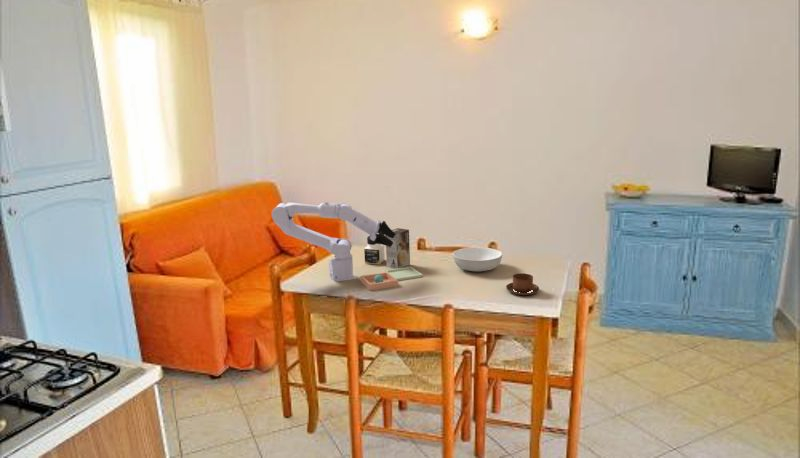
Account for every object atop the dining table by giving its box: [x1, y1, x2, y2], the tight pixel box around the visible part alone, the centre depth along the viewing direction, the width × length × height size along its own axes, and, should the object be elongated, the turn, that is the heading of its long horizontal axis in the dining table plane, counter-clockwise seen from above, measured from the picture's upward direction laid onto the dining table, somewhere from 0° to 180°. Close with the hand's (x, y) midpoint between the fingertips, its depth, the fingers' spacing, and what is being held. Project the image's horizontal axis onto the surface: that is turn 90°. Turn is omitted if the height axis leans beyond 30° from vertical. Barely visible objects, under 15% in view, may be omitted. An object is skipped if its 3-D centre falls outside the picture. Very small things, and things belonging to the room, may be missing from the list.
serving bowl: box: [452, 246, 503, 273], centre depth 234 cm, size 21×21×7 cm
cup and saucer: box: [505, 273, 540, 296], centre depth 206 cm, size 12×12×6 cm
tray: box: [384, 266, 424, 282], centre depth 227 cm, size 12×12×1 cm
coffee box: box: [385, 227, 411, 269], centre depth 238 cm, size 9×6×16 cm
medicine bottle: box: [364, 235, 386, 265], centre depth 246 cm, size 7×7×12 cm
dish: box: [359, 271, 399, 291], centre depth 217 cm, size 12×12×3 cm
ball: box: [374, 275, 383, 283], centre depth 217 cm, size 4×4×4 cm
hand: (393, 240), depth 223 cm, fingers open, 7 cm apart
